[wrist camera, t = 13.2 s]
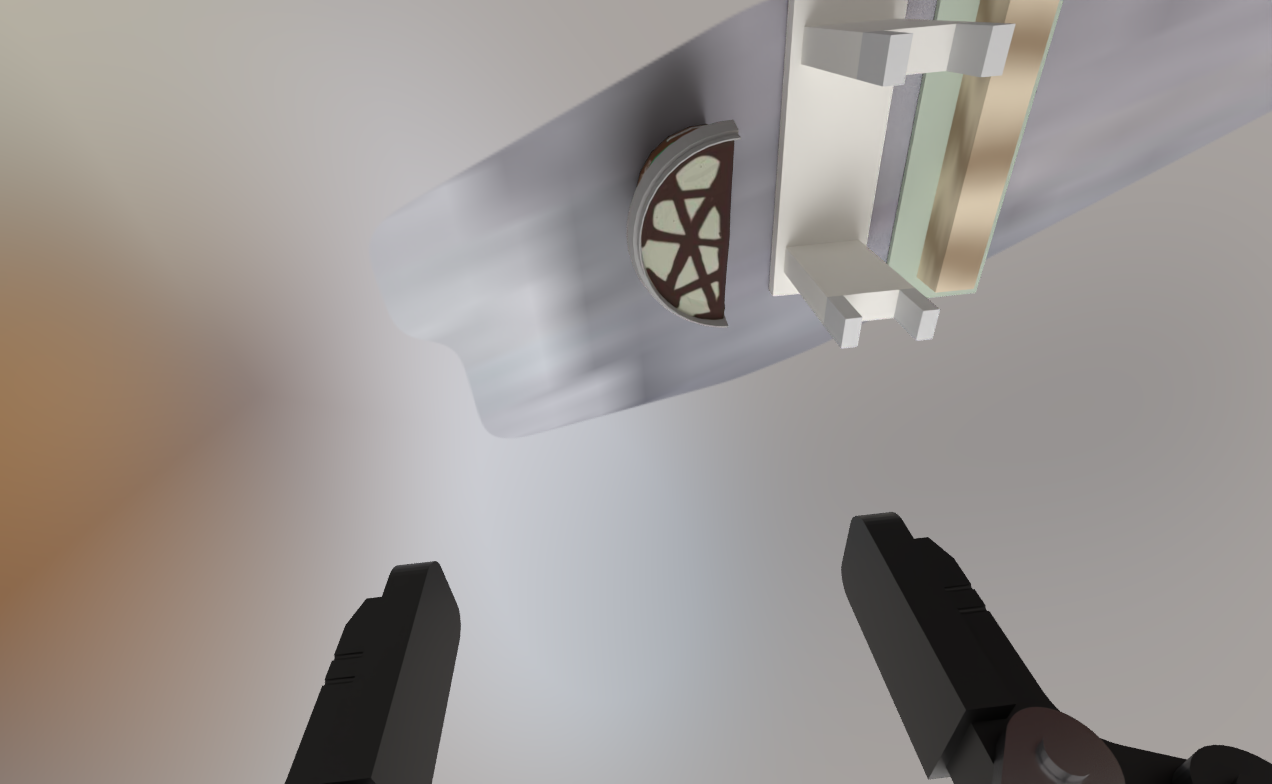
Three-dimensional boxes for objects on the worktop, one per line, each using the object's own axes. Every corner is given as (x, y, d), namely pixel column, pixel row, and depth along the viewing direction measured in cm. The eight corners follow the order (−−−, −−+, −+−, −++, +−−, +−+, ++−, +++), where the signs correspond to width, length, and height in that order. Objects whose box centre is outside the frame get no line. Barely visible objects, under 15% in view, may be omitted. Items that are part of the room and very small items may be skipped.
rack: (789, -13, 34) (883, -20, 23) (902, -23, 34) (1047, -35, 24) (768, 290, 45) (825, 377, 35) (853, 281, 46) (935, 365, 35)
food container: (614, 104, 37) (623, 132, 29) (706, 99, 37) (742, 126, 29) (623, 278, 44) (633, 341, 36) (701, 273, 44) (727, 334, 36)
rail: (987, -31, 34) (1018, -33, 31) (1035, -35, 34) (1070, -38, 32) (916, 277, 45) (935, 292, 43) (952, 273, 45) (973, 288, 43)
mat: (950, -68, 33) (954, -69, 33) (1082, -80, 33) (1087, -81, 33) (879, 300, 47) (881, 302, 47) (972, 290, 47) (975, 292, 47)
